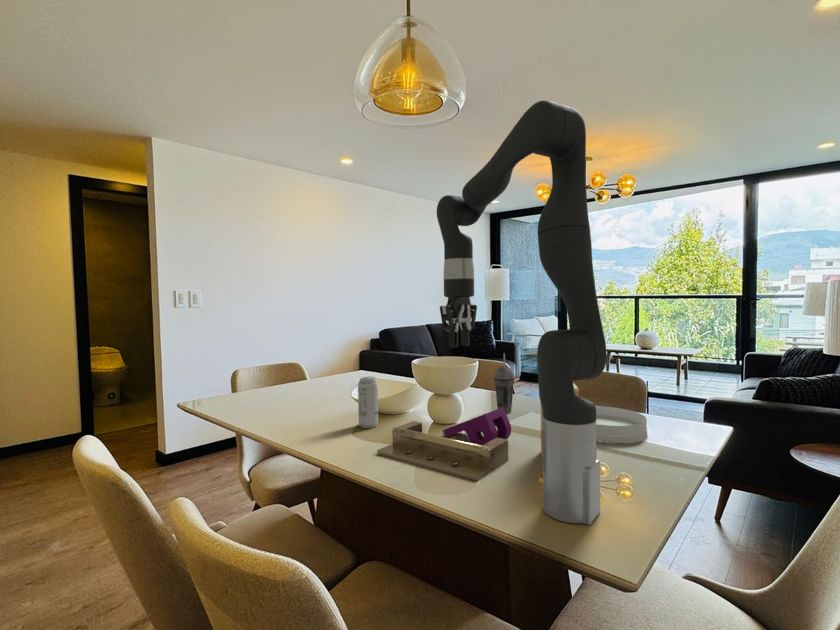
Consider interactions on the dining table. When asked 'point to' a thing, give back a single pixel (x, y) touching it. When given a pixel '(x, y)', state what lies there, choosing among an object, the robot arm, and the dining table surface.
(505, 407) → the beverage cup
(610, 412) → the dish
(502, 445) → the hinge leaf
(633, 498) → the dining table surface
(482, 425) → the mounting bracket
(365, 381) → the energy drink can
